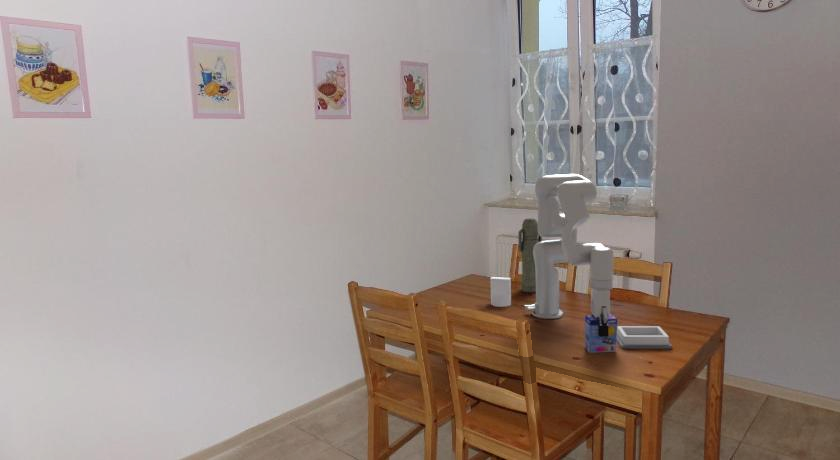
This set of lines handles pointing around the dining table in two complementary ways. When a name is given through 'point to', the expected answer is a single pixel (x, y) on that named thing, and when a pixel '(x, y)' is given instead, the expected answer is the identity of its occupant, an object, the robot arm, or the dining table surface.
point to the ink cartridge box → (593, 340)
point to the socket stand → (642, 337)
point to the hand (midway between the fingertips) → (600, 331)
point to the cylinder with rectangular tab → (500, 291)
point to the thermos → (528, 253)
